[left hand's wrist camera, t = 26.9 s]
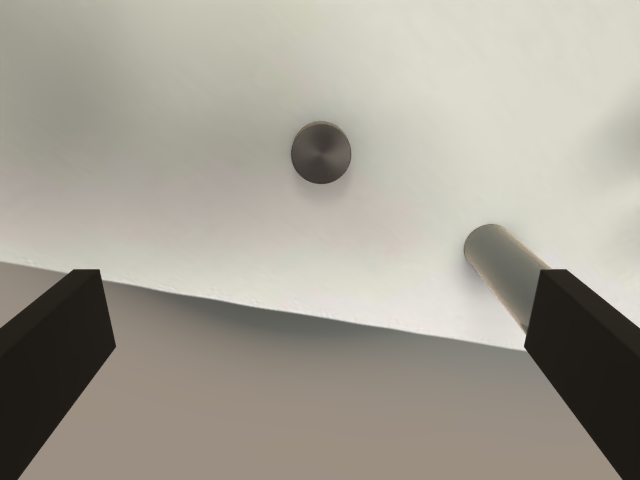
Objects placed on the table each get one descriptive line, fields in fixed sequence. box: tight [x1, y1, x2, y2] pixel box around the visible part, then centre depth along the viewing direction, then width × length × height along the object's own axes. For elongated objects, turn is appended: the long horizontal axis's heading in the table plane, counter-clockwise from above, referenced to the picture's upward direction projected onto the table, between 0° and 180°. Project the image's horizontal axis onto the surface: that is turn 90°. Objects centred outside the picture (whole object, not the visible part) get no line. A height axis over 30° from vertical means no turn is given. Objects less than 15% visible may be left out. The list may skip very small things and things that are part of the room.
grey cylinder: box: [464, 225, 552, 335], centre depth 35 cm, size 5×5×18 cm
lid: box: [291, 122, 351, 184], centre depth 39 cm, size 5×5×2 cm
